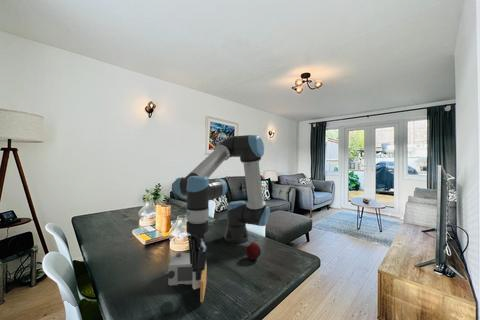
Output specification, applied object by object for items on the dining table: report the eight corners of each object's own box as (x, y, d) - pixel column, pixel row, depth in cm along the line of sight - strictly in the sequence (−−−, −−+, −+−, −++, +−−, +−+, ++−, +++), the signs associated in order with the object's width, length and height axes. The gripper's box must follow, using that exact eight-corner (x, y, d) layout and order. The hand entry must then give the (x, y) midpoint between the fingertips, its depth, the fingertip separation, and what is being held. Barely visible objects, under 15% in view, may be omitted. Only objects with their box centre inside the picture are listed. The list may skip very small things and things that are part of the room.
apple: (252, 253, 108) (252, 238, 108) (264, 259, 102) (264, 243, 102) (242, 258, 103) (242, 242, 103) (254, 264, 97) (254, 247, 97)
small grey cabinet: (205, 269, 92) (205, 250, 92) (204, 285, 81) (204, 262, 81) (173, 271, 90) (173, 251, 90) (167, 287, 79) (167, 264, 79)
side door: (203, 281, 82) (203, 263, 82) (206, 281, 82) (206, 263, 82) (199, 302, 70) (200, 281, 70) (203, 302, 70) (203, 281, 70)
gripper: (181, 217, 75) (180, 281, 75) (194, 227, 64) (193, 302, 64) (200, 214, 79) (199, 275, 79) (215, 223, 68) (214, 293, 69)
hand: (196, 287), depth 72 cm, fingers closed
